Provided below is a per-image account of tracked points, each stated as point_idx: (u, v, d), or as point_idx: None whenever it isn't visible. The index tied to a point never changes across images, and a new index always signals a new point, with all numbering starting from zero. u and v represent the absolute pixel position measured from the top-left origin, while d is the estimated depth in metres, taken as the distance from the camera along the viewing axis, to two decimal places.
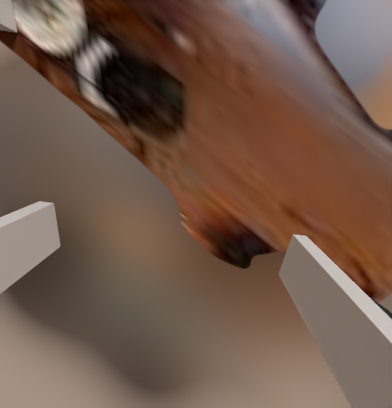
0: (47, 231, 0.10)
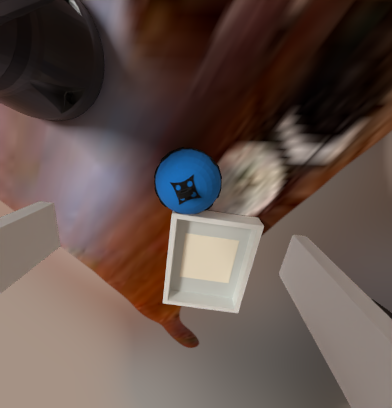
0: (47, 231, 0.10)
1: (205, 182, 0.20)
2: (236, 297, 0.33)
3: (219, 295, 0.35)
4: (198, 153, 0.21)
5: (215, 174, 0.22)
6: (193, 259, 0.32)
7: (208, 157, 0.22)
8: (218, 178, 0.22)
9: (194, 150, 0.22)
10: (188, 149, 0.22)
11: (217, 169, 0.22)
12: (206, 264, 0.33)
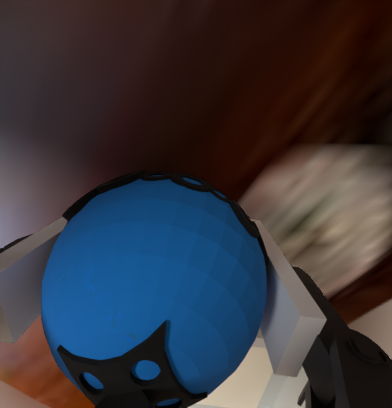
0: None
1: (223, 341, 0.04)
2: None
3: None
4: (191, 199, 0.06)
5: (257, 279, 0.06)
6: None
7: (228, 208, 0.06)
8: (265, 283, 0.06)
9: (177, 185, 0.06)
10: (155, 181, 0.06)
11: (259, 247, 0.06)
12: None
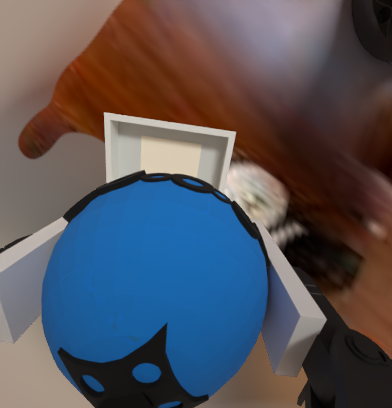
0: None
1: (224, 343, 0.04)
2: None
3: None
4: (192, 200, 0.06)
5: (259, 280, 0.06)
6: (167, 153, 0.28)
7: (229, 210, 0.06)
8: (266, 285, 0.06)
9: (178, 187, 0.06)
10: (156, 183, 0.06)
11: (260, 249, 0.06)
12: (161, 168, 0.29)
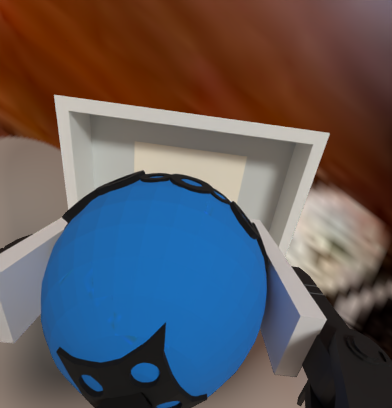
0: None
1: (223, 343, 0.04)
2: None
3: None
4: (191, 201, 0.06)
5: (257, 280, 0.06)
6: (183, 173, 0.15)
7: (228, 210, 0.06)
8: (264, 285, 0.06)
9: (177, 187, 0.06)
10: (155, 183, 0.06)
11: (259, 249, 0.06)
12: None
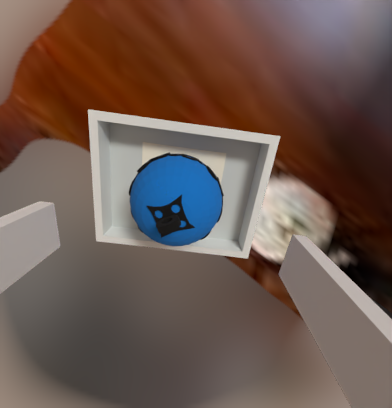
0: (47, 231, 0.10)
1: (200, 205, 0.14)
2: (124, 235, 0.22)
3: (113, 207, 0.22)
4: (190, 162, 0.15)
5: (214, 192, 0.15)
6: None
7: (204, 167, 0.15)
8: (219, 197, 0.15)
9: (184, 157, 0.15)
10: (175, 156, 0.15)
11: (217, 184, 0.16)
12: None
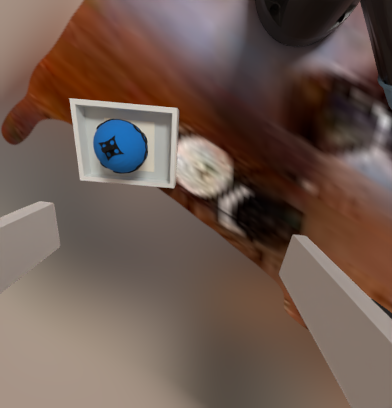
0: (47, 231, 0.10)
1: (125, 141, 0.27)
2: (97, 176, 0.35)
3: (90, 161, 0.36)
4: (122, 121, 0.28)
5: (136, 137, 0.28)
6: None
7: (131, 125, 0.29)
8: (140, 141, 0.29)
9: (120, 120, 0.29)
10: (116, 119, 0.29)
11: (139, 134, 0.29)
12: None
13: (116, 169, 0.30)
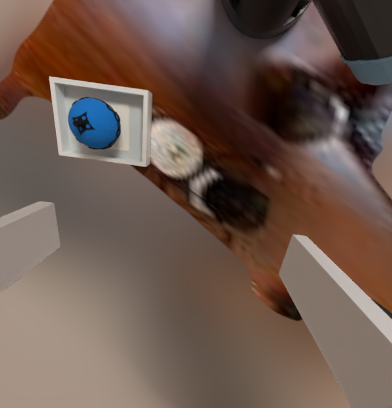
0: (47, 231, 0.10)
1: (96, 118, 0.30)
2: (75, 152, 0.38)
3: (70, 138, 0.39)
4: (95, 100, 0.31)
5: (107, 115, 0.31)
6: None
7: (104, 104, 0.32)
8: (111, 118, 0.32)
9: (94, 98, 0.31)
10: (90, 98, 0.31)
11: (111, 113, 0.32)
12: None
13: (89, 144, 0.32)
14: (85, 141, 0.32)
